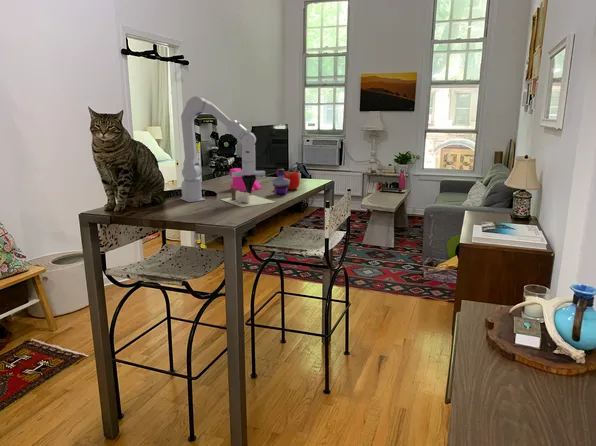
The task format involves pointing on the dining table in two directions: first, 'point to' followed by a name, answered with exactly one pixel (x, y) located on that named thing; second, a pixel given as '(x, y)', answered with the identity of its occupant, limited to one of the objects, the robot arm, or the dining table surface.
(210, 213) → the dining table surface
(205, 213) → the dining table surface
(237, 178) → the bracket
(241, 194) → the fence panel
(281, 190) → the potion bottle
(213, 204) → the dining table surface
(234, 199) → the fence post
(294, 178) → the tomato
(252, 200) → the card
